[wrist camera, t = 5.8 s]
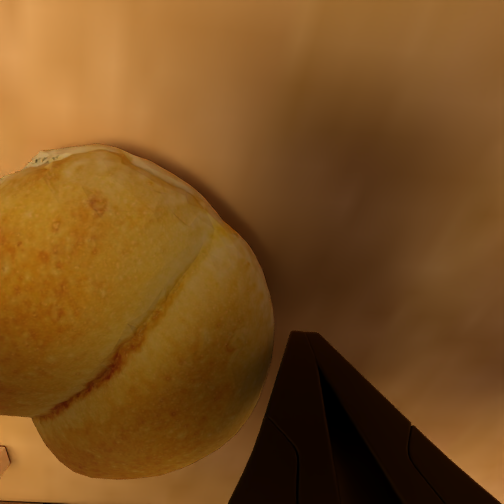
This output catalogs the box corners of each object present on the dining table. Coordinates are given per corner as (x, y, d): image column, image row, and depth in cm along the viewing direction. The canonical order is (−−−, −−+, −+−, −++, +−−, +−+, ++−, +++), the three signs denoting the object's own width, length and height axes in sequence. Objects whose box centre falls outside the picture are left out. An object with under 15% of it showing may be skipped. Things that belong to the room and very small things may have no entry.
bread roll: (144, 433, 12) (99, 572, 8) (-74, 269, 9) (-291, 373, 5) (327, 329, 10) (372, 451, 6) (126, 76, 7) (-3, 37, 3)
